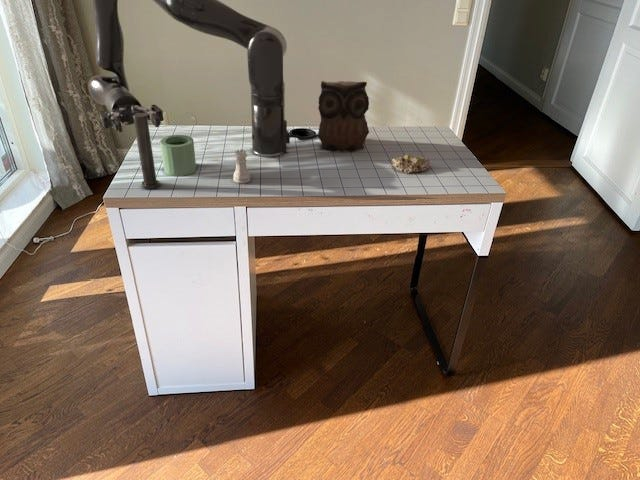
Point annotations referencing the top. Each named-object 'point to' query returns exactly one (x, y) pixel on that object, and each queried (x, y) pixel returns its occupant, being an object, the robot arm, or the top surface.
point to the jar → (178, 155)
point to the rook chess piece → (241, 168)
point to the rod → (145, 151)
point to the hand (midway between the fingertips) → (139, 125)
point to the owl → (343, 115)
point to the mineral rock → (410, 164)
